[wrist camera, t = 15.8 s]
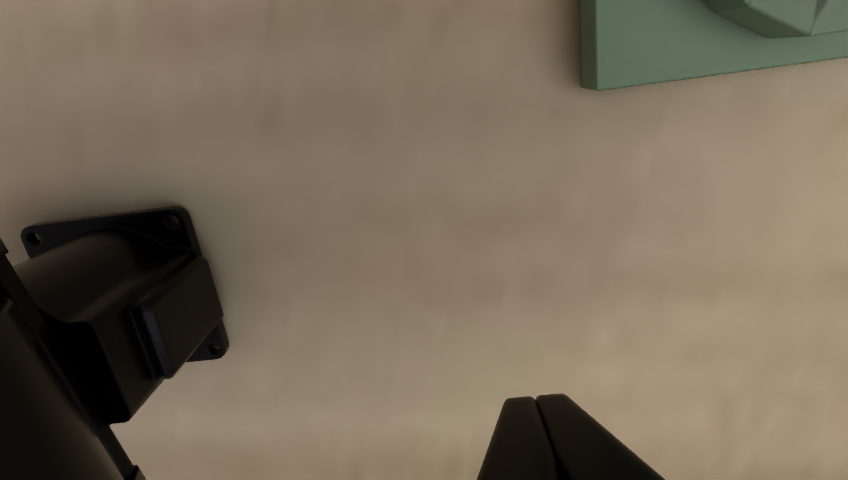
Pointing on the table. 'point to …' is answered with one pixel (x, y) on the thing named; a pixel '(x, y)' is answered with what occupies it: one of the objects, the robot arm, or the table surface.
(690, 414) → the table surface
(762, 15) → the switch box
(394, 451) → the table surface
